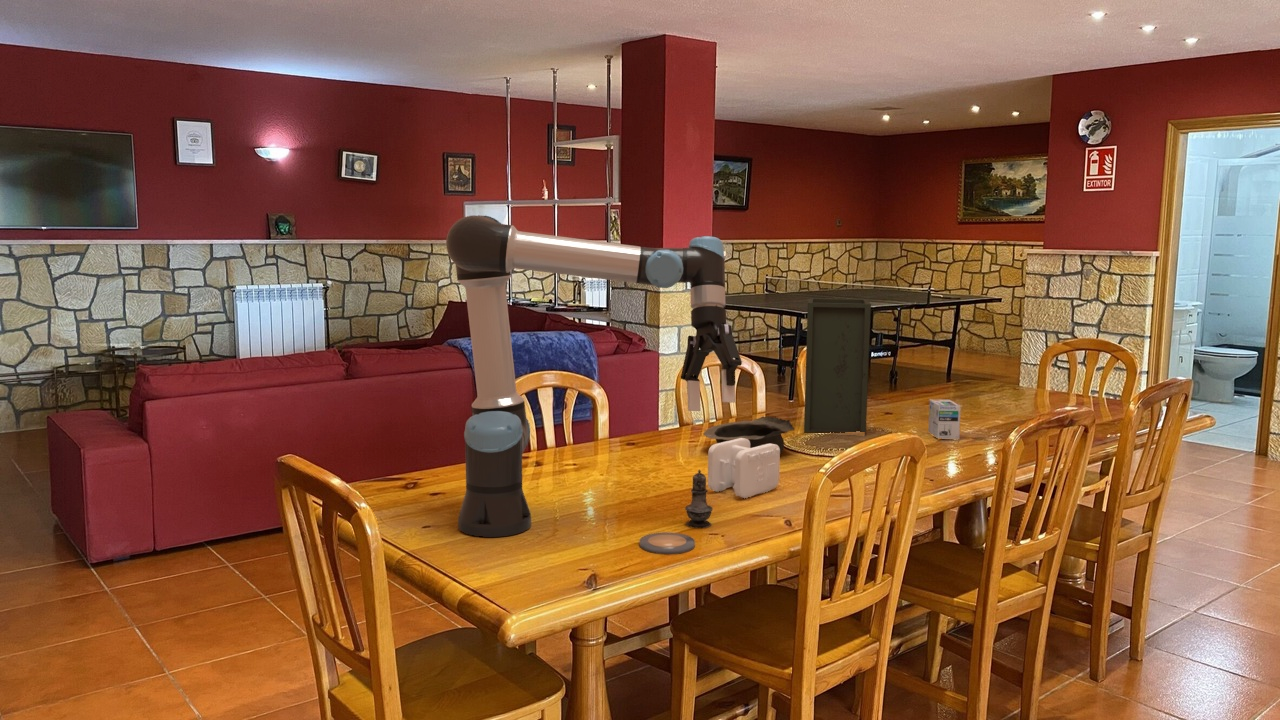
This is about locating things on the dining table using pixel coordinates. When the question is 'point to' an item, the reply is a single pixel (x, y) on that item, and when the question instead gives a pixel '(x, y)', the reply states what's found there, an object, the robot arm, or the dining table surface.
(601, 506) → the dining table surface
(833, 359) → the dark green rectangular pillar
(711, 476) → the cable organizer
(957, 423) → the light bulb box
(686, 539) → the coaster
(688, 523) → the salt shaker
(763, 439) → the black brimmed hat
